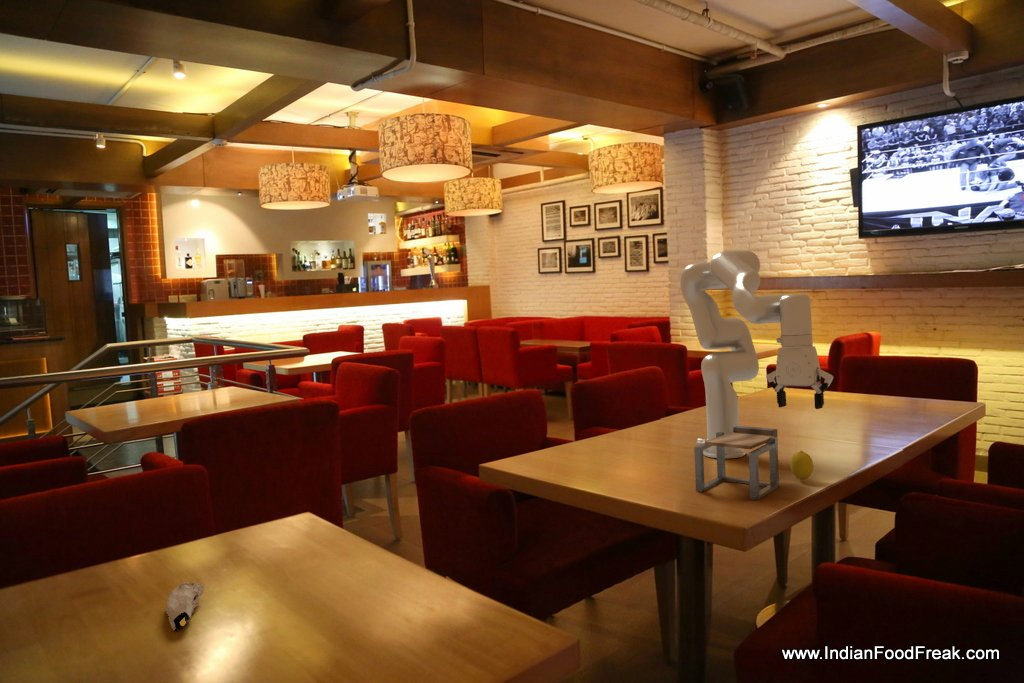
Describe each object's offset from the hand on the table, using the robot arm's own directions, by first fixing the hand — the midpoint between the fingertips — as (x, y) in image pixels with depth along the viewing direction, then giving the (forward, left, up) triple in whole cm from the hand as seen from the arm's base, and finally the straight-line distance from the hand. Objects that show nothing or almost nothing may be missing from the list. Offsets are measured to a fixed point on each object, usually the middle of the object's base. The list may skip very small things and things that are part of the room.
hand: (800, 407), depth 188 cm
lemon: (0, +1, -20) cm, 20 cm away
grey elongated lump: (-60, -135, -20) cm, 149 cm away
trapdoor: (-11, -11, -9) cm, 18 cm away
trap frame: (-11, -15, -19) cm, 27 cm away
